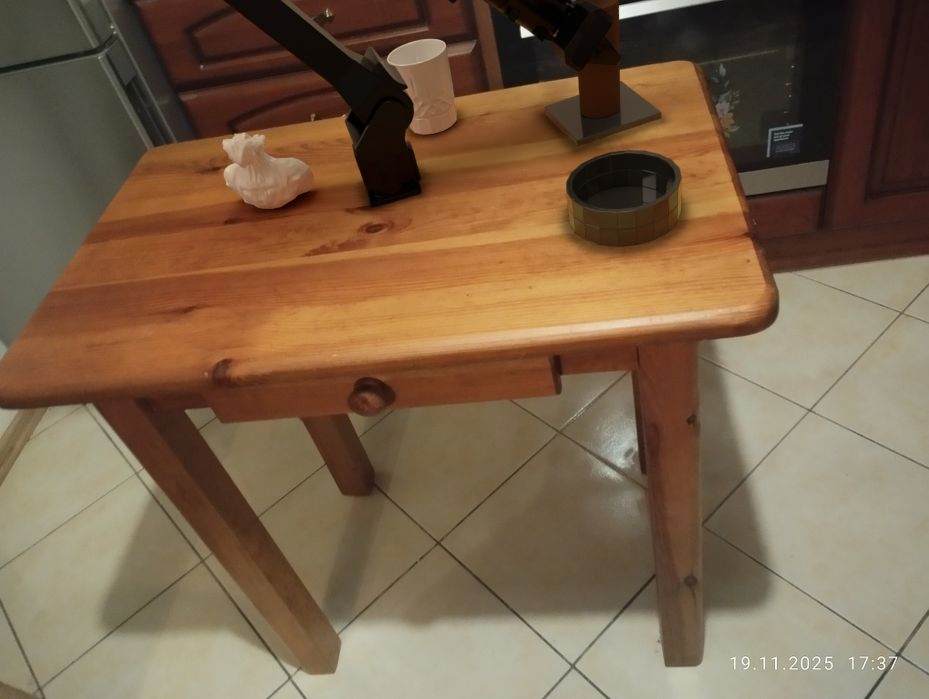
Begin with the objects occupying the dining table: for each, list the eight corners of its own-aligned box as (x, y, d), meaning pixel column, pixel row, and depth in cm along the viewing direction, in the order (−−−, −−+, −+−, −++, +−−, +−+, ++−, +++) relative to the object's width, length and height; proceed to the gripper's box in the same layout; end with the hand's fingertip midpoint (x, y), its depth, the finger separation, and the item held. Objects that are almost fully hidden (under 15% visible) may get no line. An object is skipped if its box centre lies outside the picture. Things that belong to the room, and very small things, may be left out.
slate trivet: (577, 149, 82) (577, 140, 81) (544, 114, 90) (543, 106, 89) (661, 121, 83) (661, 112, 82) (621, 89, 91) (621, 80, 90)
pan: (591, 262, 66) (588, 224, 63) (556, 205, 75) (551, 169, 71) (699, 229, 67) (701, 190, 64) (652, 176, 75) (652, 139, 72)
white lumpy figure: (242, 219, 91) (187, 191, 80) (246, 164, 92) (191, 129, 81) (324, 213, 88) (278, 183, 77) (326, 157, 88) (281, 119, 78)
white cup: (398, 123, 97) (378, 53, 90) (448, 103, 98) (432, 33, 91) (418, 143, 91) (399, 71, 84) (470, 122, 92) (455, 49, 86)
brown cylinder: (609, 120, 83) (607, 11, 74) (573, 115, 85) (566, 8, 76) (627, 100, 85) (627, -9, 76) (591, 95, 88) (586, -10, 79)
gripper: (588, -79, 62) (694, 10, 71) (519, -109, 76) (615, -31, 84) (520, 34, 67) (627, 104, 76) (467, -13, 81) (563, 51, 89)
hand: (607, 52), depth 81 cm, fingers closed on brown cylinder, 5 cm apart
